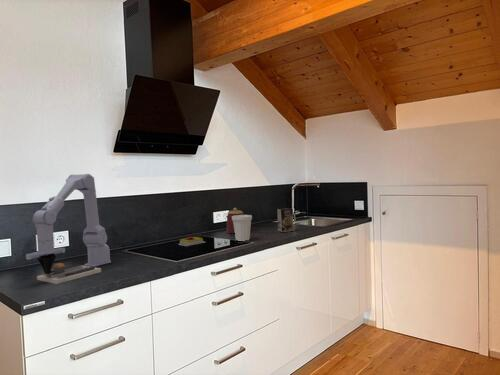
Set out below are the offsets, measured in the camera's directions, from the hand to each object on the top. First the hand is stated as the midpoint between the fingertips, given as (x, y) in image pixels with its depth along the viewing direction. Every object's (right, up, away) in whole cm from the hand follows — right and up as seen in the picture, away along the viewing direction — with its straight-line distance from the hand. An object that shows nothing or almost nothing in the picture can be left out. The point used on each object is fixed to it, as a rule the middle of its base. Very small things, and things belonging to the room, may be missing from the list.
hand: (47, 273), depth 147 cm
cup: (+77, +2, +76) cm, 108 cm away
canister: (+72, +3, +110) cm, 132 cm away
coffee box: (+106, +4, +105) cm, 149 cm away
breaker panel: (+5, -3, +8) cm, 10 cm away
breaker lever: (+3, -1, +4) cm, 5 cm away
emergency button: (+46, 0, +75) cm, 88 cm away
